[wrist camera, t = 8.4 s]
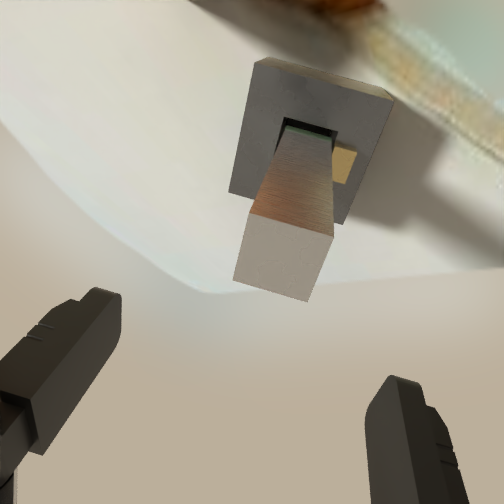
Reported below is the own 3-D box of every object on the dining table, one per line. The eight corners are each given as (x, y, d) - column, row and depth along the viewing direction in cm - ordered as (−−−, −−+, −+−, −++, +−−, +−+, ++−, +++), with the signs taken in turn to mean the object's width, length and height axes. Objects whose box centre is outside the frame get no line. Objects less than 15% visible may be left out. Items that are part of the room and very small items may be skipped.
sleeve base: (382, 87, 36) (396, 103, 29) (340, 194, 43) (343, 230, 35) (267, 56, 37) (252, 63, 29) (243, 167, 43) (225, 196, 36)
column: (331, 137, 31) (334, 236, 16) (316, 180, 34) (307, 302, 18) (286, 125, 32) (248, 212, 16) (275, 168, 34) (232, 280, 19)
